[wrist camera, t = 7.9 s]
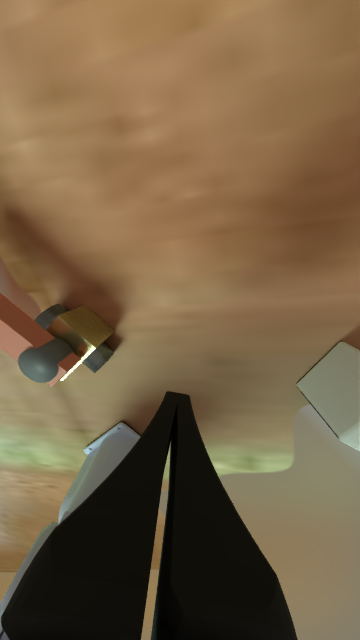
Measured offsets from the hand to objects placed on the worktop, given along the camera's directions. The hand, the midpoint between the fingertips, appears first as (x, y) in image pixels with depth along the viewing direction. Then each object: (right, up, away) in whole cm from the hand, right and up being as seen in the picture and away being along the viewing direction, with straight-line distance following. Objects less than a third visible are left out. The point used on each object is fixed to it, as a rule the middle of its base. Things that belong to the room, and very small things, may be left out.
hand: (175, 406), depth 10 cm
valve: (-11, +3, +11) cm, 16 cm away
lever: (-15, +5, +6) cm, 17 cm away
